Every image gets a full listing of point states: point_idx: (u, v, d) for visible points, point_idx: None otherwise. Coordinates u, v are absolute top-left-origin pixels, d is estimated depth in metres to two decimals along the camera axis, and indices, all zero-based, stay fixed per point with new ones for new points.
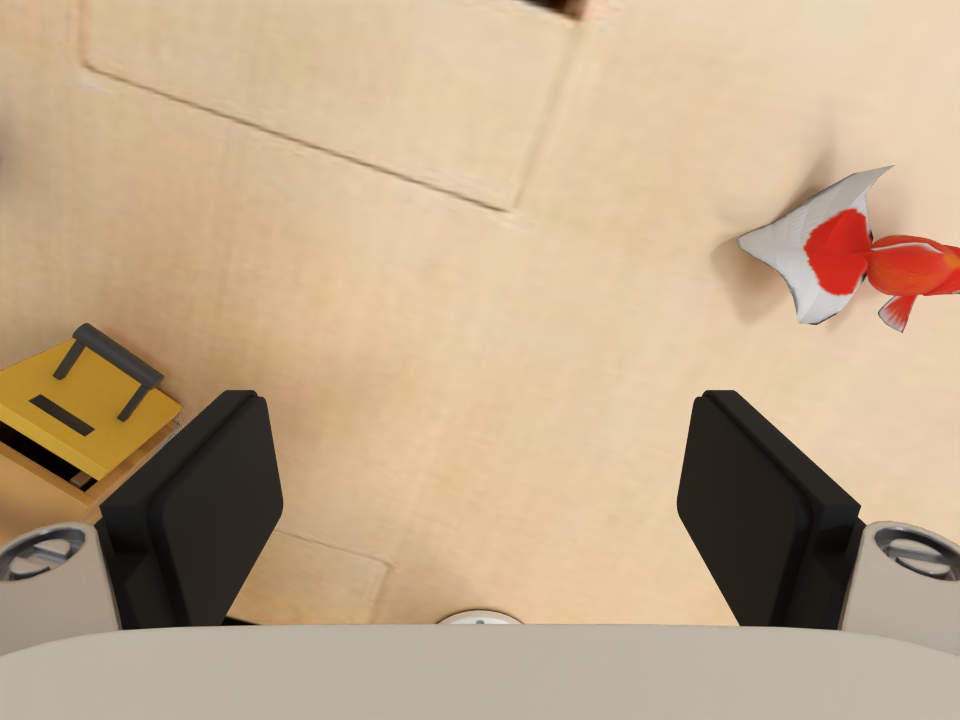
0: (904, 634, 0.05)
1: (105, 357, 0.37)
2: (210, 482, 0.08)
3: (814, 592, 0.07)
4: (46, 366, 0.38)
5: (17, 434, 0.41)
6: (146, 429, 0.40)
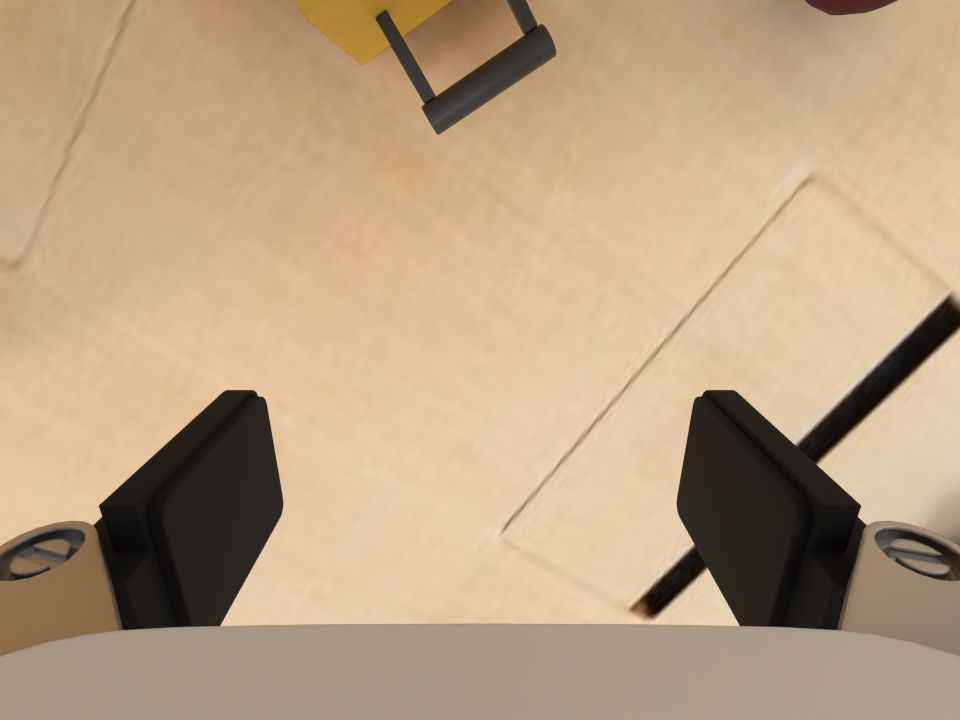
0: (904, 634, 0.05)
1: (496, 67, 0.22)
2: (210, 482, 0.08)
3: (814, 592, 0.07)
4: None
5: None
6: (350, 42, 0.23)
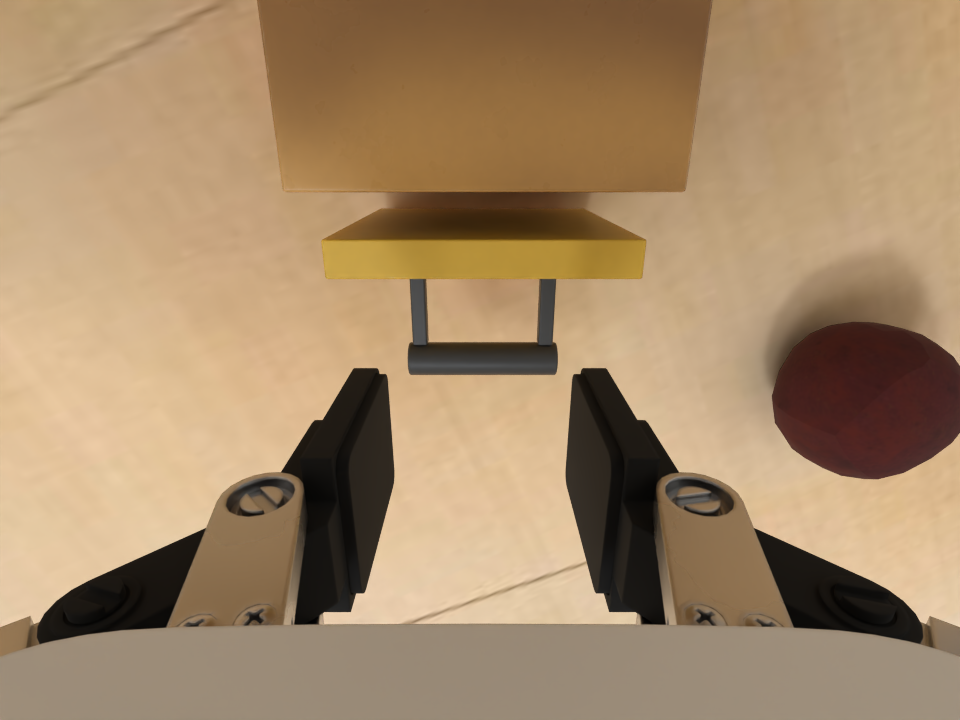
0: (713, 576, 0.06)
1: (496, 360, 0.21)
2: (365, 445, 0.10)
3: (624, 534, 0.08)
4: None
5: None
6: None
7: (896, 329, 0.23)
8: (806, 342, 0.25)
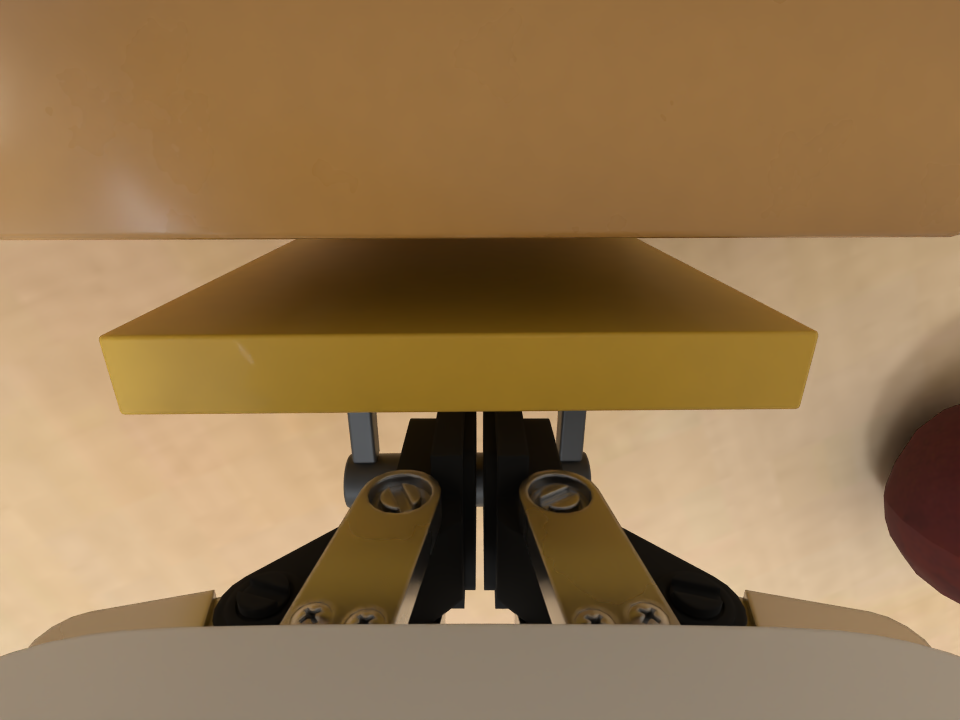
0: (591, 576, 0.06)
1: None
2: (474, 443, 0.10)
3: (497, 531, 0.08)
4: None
5: None
6: None
7: None
8: (948, 427, 0.17)
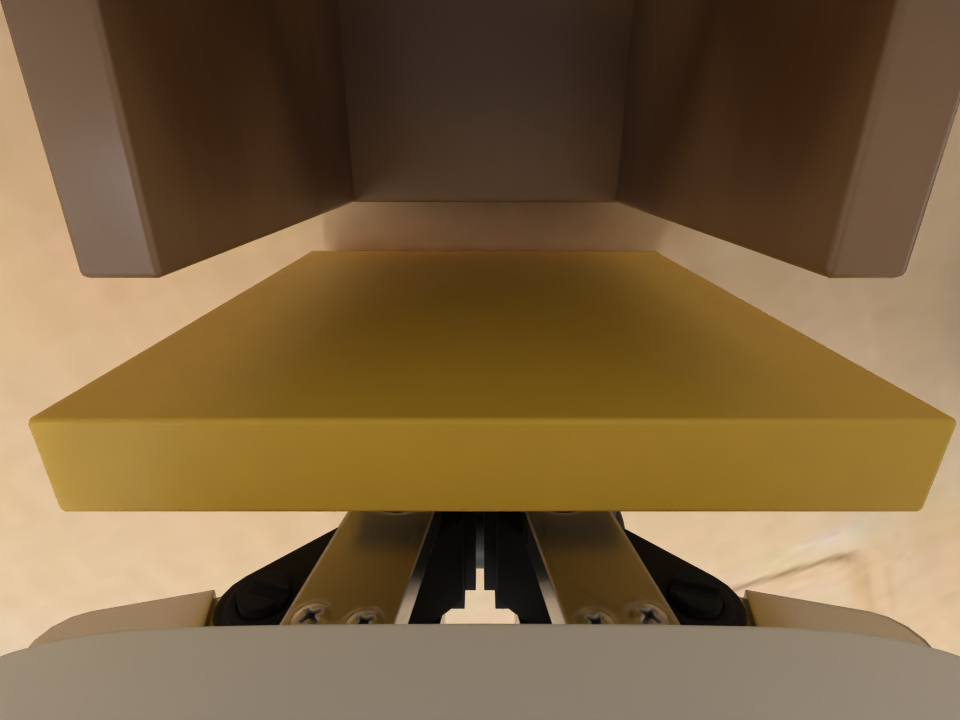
0: (591, 575, 0.06)
1: None
2: None
3: (497, 531, 0.08)
4: None
5: None
6: None
7: None
8: None
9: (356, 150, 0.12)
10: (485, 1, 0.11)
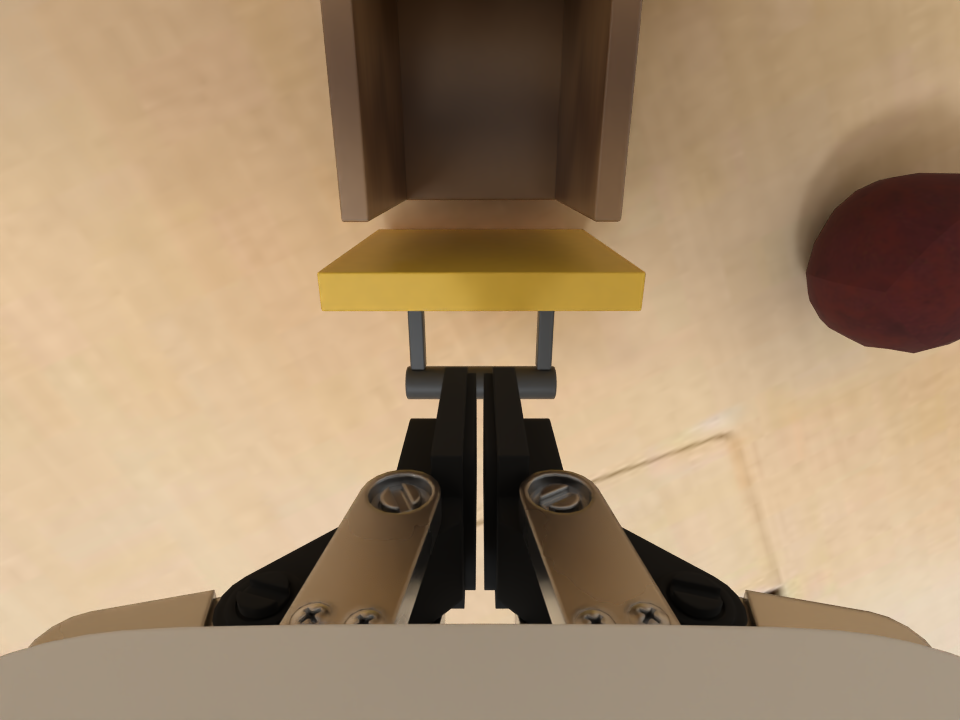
0: (591, 575, 0.06)
1: None
2: None
3: (497, 532, 0.08)
4: None
5: (572, 37, 0.18)
6: None
7: None
8: (848, 200, 0.22)
9: (409, 171, 0.22)
10: (480, 92, 0.21)
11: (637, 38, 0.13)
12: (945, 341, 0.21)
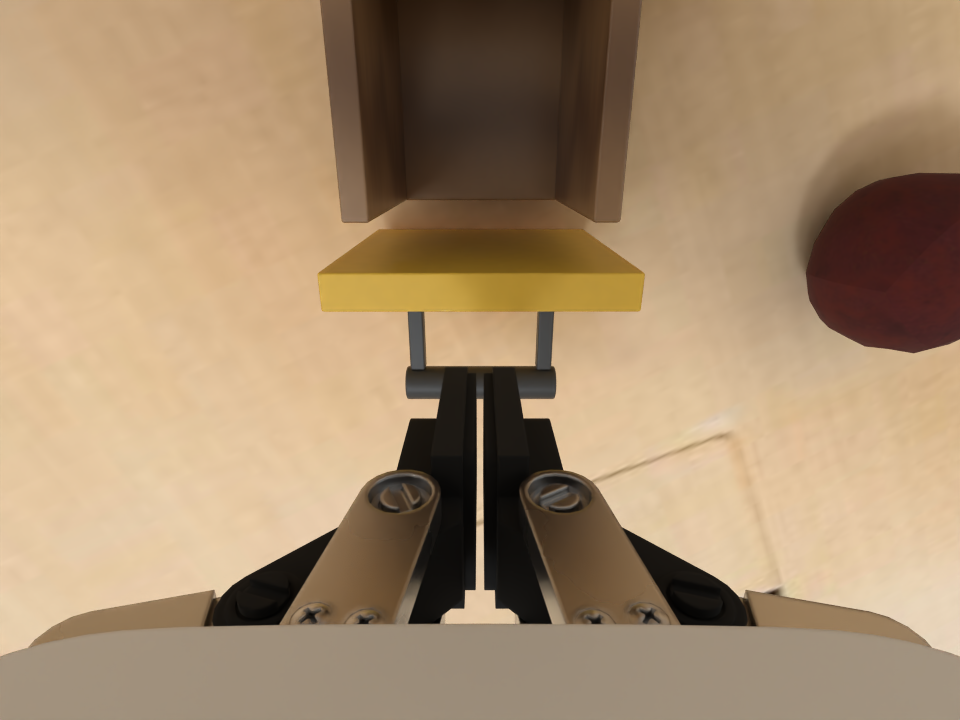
0: (591, 575, 0.06)
1: None
2: None
3: (497, 532, 0.08)
4: None
5: (572, 38, 0.18)
6: None
7: None
8: (848, 200, 0.22)
9: (409, 171, 0.22)
10: (480, 92, 0.21)
11: (636, 39, 0.13)
12: (945, 341, 0.21)
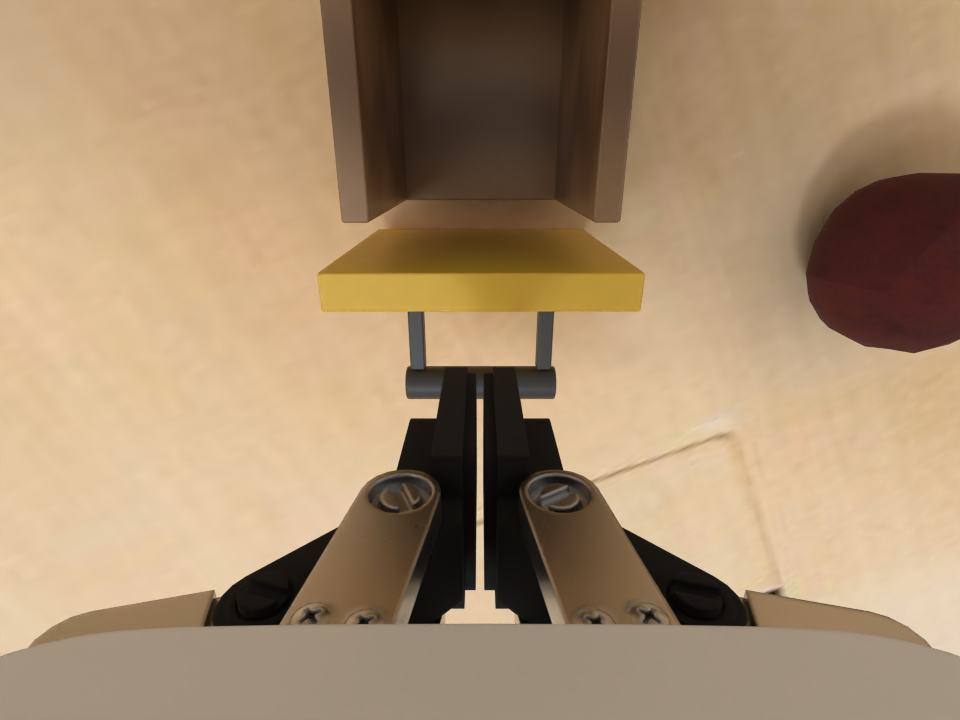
0: (591, 575, 0.06)
1: None
2: None
3: (497, 532, 0.08)
4: None
5: (572, 38, 0.18)
6: None
7: None
8: (848, 200, 0.22)
9: (409, 171, 0.22)
10: (480, 92, 0.21)
11: (636, 39, 0.13)
12: (945, 341, 0.21)
